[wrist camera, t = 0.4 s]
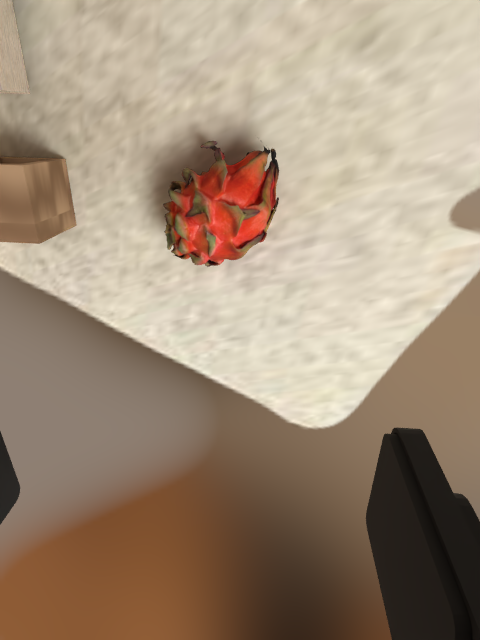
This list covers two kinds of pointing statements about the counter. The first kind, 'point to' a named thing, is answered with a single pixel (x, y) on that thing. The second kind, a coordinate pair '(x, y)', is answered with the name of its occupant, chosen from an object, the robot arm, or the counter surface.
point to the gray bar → (11, 53)
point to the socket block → (34, 199)
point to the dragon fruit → (222, 208)
